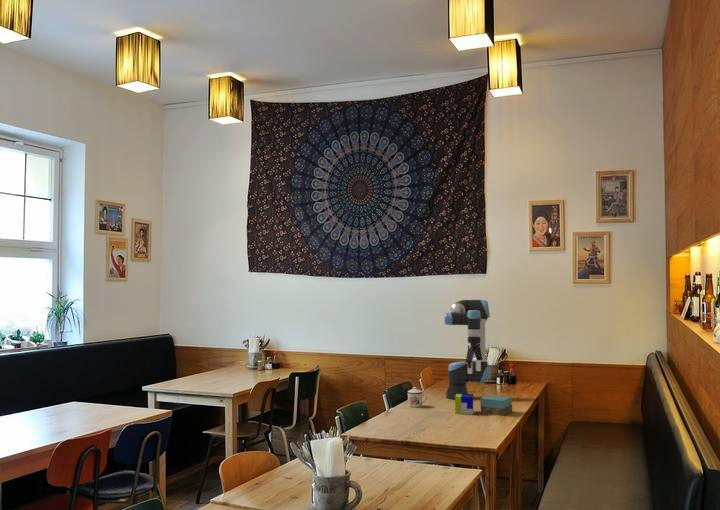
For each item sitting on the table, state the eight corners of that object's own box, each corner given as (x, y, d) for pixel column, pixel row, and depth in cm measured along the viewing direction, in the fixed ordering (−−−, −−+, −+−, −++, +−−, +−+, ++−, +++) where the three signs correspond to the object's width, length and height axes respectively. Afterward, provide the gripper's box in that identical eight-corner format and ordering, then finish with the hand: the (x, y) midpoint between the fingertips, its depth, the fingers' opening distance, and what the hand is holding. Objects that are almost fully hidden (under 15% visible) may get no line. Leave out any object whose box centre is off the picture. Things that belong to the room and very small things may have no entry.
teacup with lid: (406, 407, 404) (405, 387, 405) (409, 404, 413) (409, 385, 413) (425, 408, 401) (425, 388, 401) (428, 405, 409) (428, 386, 410)
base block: (481, 414, 386) (480, 406, 386) (489, 410, 398) (489, 402, 398) (504, 416, 378) (504, 408, 378) (512, 412, 390) (512, 404, 390)
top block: (480, 406, 386) (480, 398, 386) (488, 402, 398) (488, 394, 398) (503, 408, 379) (503, 400, 379) (511, 404, 391) (511, 397, 391)
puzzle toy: (472, 414, 382) (472, 397, 382) (455, 414, 384) (455, 396, 384) (473, 411, 392) (473, 394, 392) (456, 410, 394) (456, 393, 394)
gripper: (472, 338, 381) (472, 375, 380) (487, 335, 402) (487, 370, 401) (460, 337, 385) (460, 374, 384) (475, 334, 406) (475, 369, 405)
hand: (474, 372), depth 393 cm, fingers open, 13 cm apart
